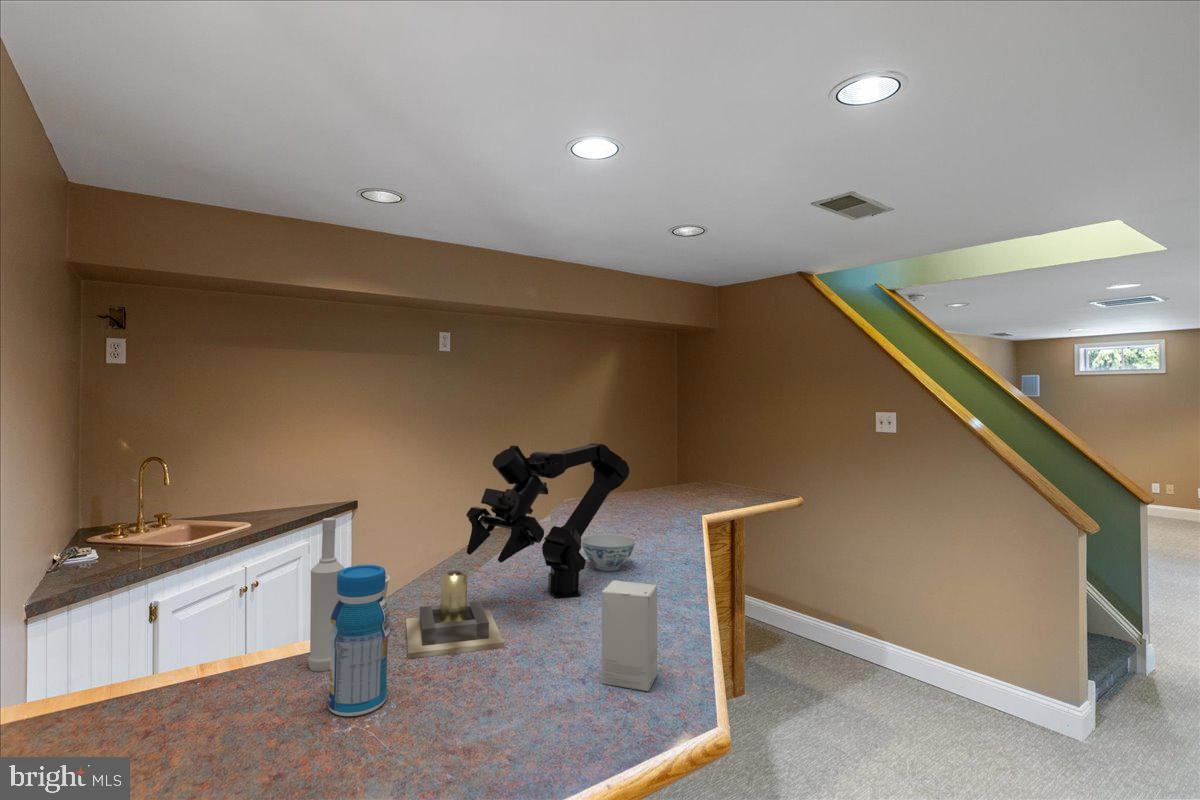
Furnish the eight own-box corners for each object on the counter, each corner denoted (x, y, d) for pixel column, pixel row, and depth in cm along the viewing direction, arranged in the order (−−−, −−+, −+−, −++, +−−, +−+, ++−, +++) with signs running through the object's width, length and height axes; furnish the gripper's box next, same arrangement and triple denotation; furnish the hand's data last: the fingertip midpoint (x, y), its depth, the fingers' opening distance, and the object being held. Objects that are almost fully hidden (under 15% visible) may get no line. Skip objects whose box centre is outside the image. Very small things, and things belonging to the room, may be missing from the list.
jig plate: (489, 615, 124) (489, 596, 124) (503, 647, 108) (504, 626, 108) (405, 623, 118) (406, 603, 118) (408, 658, 102) (408, 636, 102)
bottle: (315, 658, 101) (319, 515, 101) (345, 658, 101) (350, 516, 102) (302, 672, 96) (307, 522, 96) (334, 672, 96) (339, 522, 96)
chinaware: (635, 576, 155) (636, 547, 155) (579, 574, 155) (580, 545, 155) (633, 560, 170) (633, 534, 170) (582, 559, 170) (582, 533, 170)
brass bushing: (469, 625, 115) (470, 569, 115) (461, 635, 110) (462, 577, 110) (445, 624, 115) (446, 568, 115) (435, 634, 110) (437, 575, 111)
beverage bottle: (350, 725, 81) (354, 582, 81) (314, 707, 85) (318, 571, 85) (399, 699, 88) (403, 568, 88) (364, 684, 92) (368, 559, 92)
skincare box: (658, 676, 98) (660, 584, 98) (648, 694, 92) (650, 596, 92) (611, 667, 101) (613, 578, 101) (598, 684, 94) (601, 589, 94)
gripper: (473, 470, 129) (432, 527, 120) (536, 478, 118) (496, 542, 109) (498, 501, 135) (460, 558, 126) (560, 511, 125) (523, 574, 115)
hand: (483, 557), depth 119 cm, fingers open, 9 cm apart
